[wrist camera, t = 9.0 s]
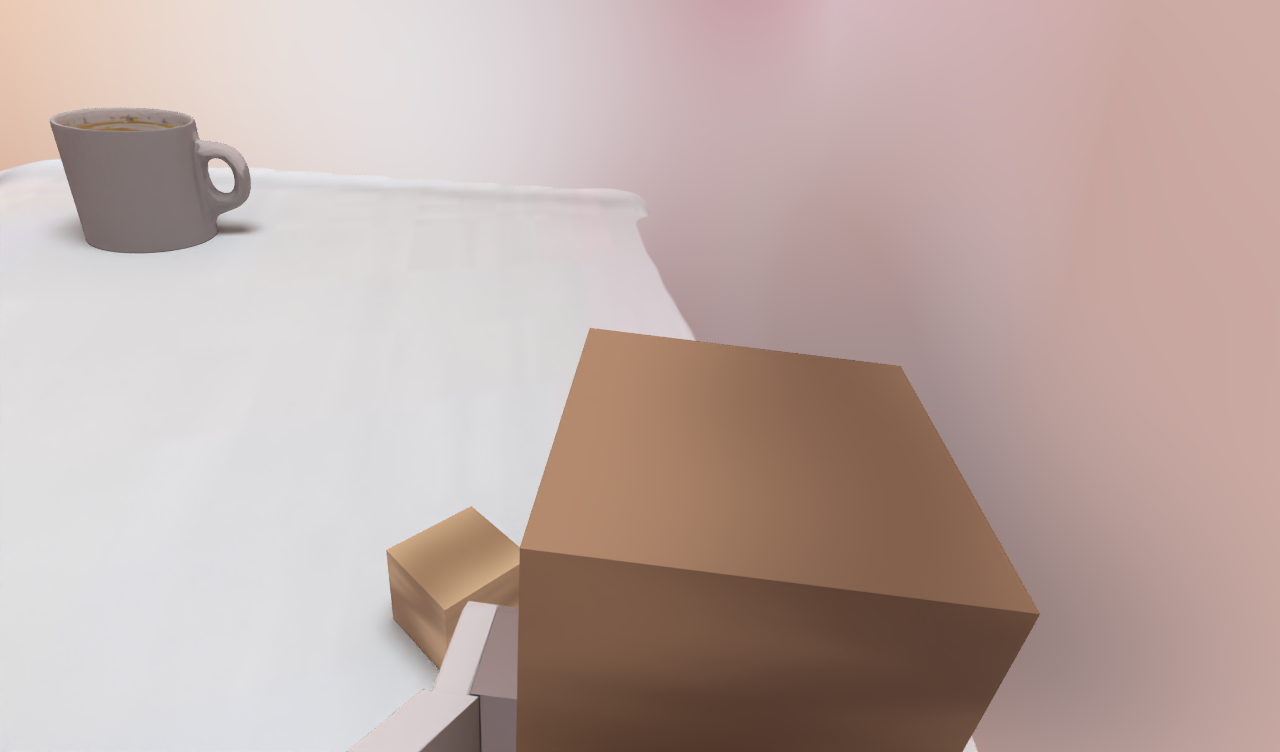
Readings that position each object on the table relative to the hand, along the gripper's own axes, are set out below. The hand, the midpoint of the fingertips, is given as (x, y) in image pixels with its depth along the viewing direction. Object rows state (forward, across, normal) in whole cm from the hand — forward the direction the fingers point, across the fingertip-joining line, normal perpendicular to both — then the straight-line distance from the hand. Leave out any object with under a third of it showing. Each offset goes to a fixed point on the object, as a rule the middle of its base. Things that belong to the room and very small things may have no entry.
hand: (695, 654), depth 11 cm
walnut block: (-1, 0, +7) cm, 7 cm away
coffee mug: (+50, +46, +15) cm, 69 cm away
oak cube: (+12, +8, +15) cm, 21 cm away
